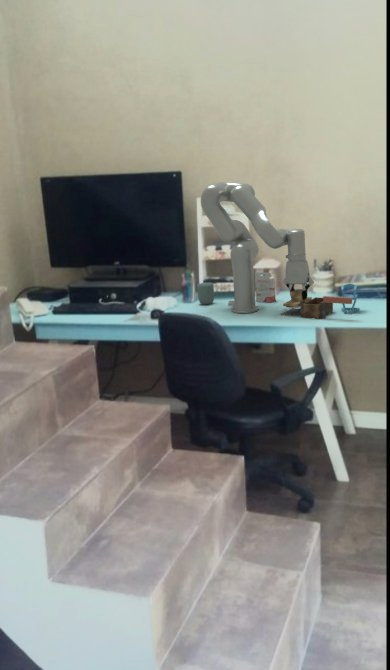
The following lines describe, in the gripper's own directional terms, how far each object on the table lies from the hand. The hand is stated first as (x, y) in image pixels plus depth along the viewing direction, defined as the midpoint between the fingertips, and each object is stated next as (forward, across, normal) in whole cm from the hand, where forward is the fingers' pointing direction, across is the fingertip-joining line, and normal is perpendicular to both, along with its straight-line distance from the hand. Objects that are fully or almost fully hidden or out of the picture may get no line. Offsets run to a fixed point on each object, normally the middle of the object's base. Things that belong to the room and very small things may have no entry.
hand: (298, 298), depth 285 cm
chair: (+7, +21, +6) cm, 23 cm away
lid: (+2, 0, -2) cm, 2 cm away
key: (-1, +21, -8) cm, 23 cm away
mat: (+6, 0, -2) cm, 7 cm away
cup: (+6, -51, +2) cm, 51 cm away
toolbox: (+6, +10, -3) cm, 12 cm away
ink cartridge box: (+6, -25, +15) cm, 30 cm away
